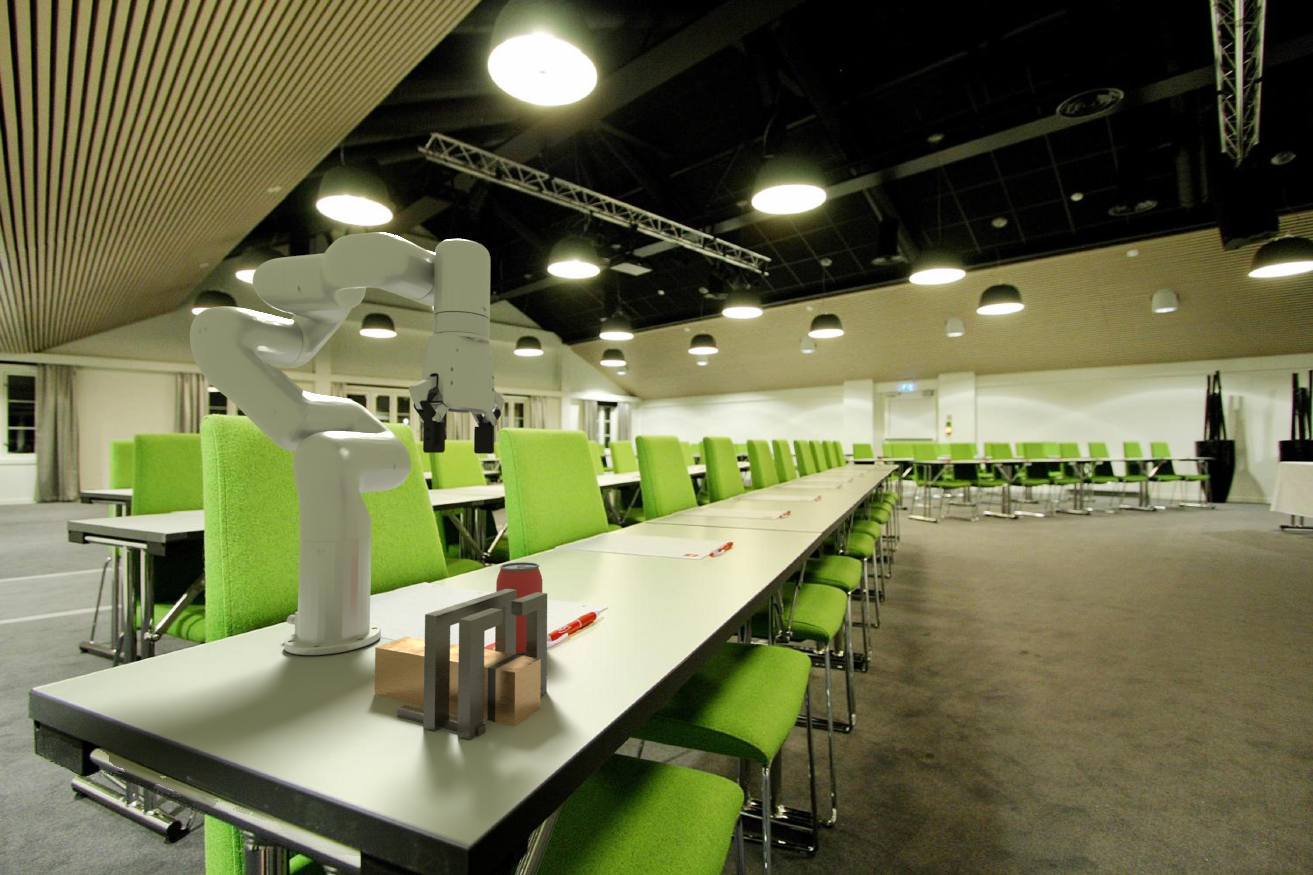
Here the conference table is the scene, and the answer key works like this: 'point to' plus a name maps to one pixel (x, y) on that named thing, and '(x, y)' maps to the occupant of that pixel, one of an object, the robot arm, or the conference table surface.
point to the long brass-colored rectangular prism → (504, 679)
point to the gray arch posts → (474, 656)
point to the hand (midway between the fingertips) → (460, 453)
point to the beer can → (520, 591)
